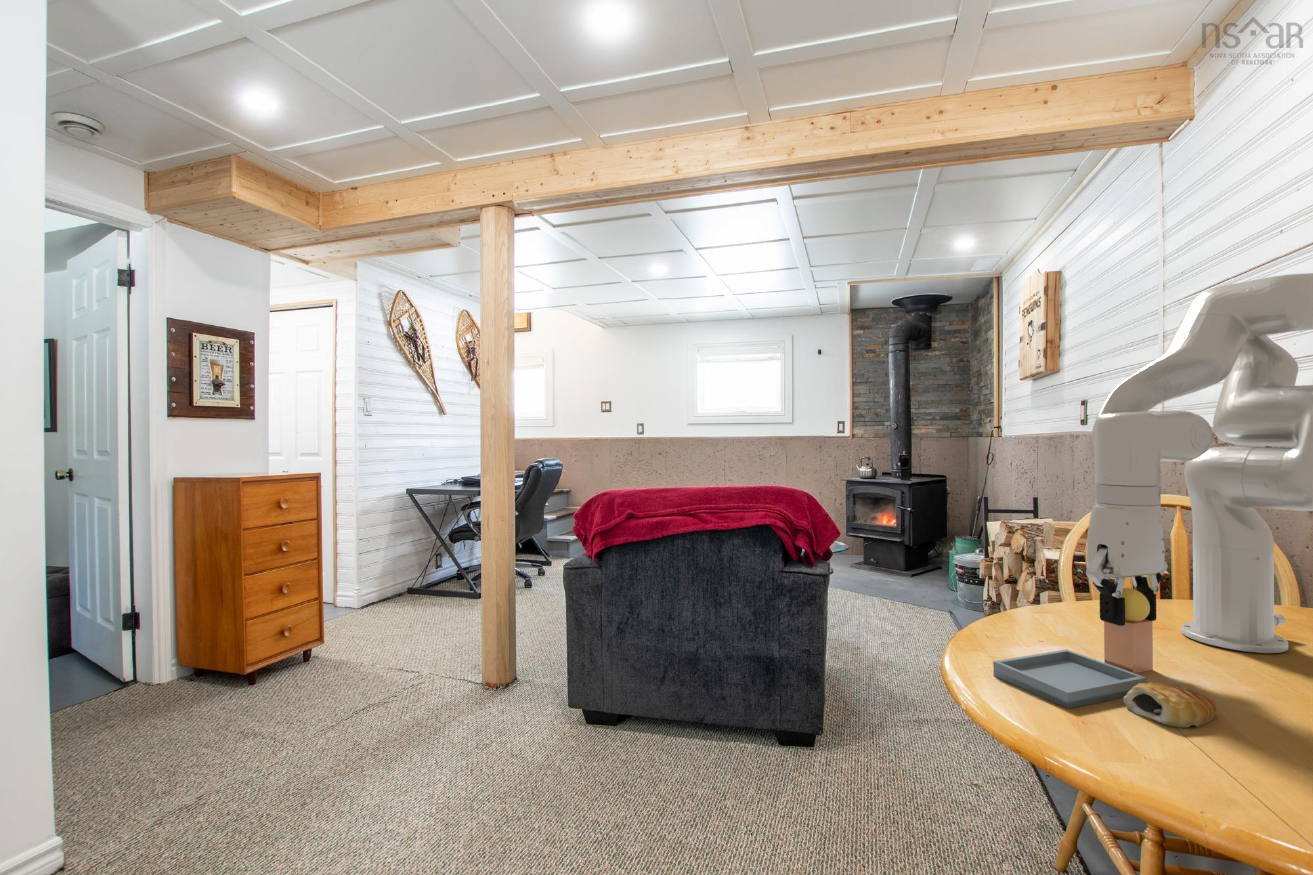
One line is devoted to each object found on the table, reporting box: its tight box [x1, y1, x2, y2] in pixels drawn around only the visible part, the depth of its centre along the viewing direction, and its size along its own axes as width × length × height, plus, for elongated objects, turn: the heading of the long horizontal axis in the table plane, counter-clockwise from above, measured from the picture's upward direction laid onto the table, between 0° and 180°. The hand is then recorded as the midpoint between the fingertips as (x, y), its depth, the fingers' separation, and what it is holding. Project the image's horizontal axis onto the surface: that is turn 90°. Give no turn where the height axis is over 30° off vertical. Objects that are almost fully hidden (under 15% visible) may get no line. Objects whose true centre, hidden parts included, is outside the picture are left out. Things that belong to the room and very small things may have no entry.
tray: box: [992, 649, 1148, 710], centre depth 82 cm, size 14×11×2 cm
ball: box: [1121, 586, 1150, 623], centre depth 88 cm, size 5×5×5 cm
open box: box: [1103, 619, 1154, 674], centre depth 88 cm, size 4×4×7 cm
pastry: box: [1122, 681, 1218, 729], centre depth 73 cm, size 9×7×4 cm
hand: (1127, 619), depth 88 cm, fingers open, 5 cm apart
